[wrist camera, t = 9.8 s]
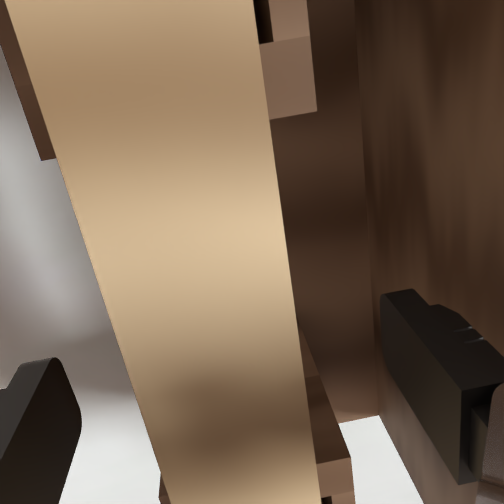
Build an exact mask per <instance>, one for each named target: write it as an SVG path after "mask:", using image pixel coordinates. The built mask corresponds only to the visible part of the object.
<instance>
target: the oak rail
mask: <svg viewBox="0 0 504 504" xmlns="http://www.w3.org/2000/svg"><path fill="white" fill-rule="evenodd" d="M5 3H6V6H7V9H8V12H9V15H10V18H11V21H12V24H13V27H14V30H15V33H16V36H17V39H18V42H19V45H20V48H21V51H22V55H23V58H24V61H25V64H26V67H27V70H28V73H29V76H30V79H31V82H32V85H33V88H34V91H35V94H36V97H37V100H38V103H39V106H40V109H41V112H42V115H43V118H44V121H45V124H46V127H47V130H48V133H49V136H50V139H51V142H52V145H53V148H54V151H55V154H56V157H57V160H58V163H59V166H60V169H61V172H62V175H63V178H64V181H65V185H66V188H67V191H68V194H69V197H70V200H71V203H72V206H73V209H74V212H75V215H76V218H77V221H78V224H79V227H80V230H81V233H82V236H83V239H84V242H85V245H86V248H87V251H88V254H89V257H90V260H91V263H92V266H93V269H94V272H95V275H96V278H97V281H98V284H99V287H100V290H101V293H102V296H103V299H104V302H105V305H106V308H107V312H108V315H109V318H110V321H111V324H112V327H113V330H114V333H115V336H116V339H117V342H118V345H119V348H120V351H121V354H122V357H123V360H124V363H125V366H126V369H127V372H128V375H129V378H130V381H131V384H132V387H133V390H134V393H135V396H136V399H137V402H138V405H139V408H140V411H141V414H142V417H143V420H144V423H145V426H146V429H147V432H148V435H149V438H150V442H151V445H152V448H153V451H154V454H155V457H156V460H157V463H158V466H159V469H160V472H161V475H162V478H163V481H164V484H165V487H166V490H167V493H168V496H169V499H170V502H171V504H321V497H320V489H319V482H318V475H317V467H316V460H315V453H314V445H313V438H312V431H311V423H310V416H309V409H308V401H307V394H306V387H305V379H304V372H303V365H302V357H301V350H300V343H299V335H298V328H297V321H296V314H295V306H294V299H293V292H292V284H291V277H290V270H289V262H288V255H287V248H286V240H285V233H284V226H283V218H282V211H281V204H280V196H279V189H278V182H277V174H276V167H275V160H274V152H273V145H272V138H271V130H270V123H269V116H268V108H267V101H266V94H265V86H264V79H263V72H262V64H261V57H260V50H259V42H258V35H257V28H256V20H255V13H254V6H253V0H5Z"/></svg>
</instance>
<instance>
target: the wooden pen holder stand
mask: <svg viewBox="0 0 504 504" xmlns="http://www.w3.org/2000/svg"><path fill="white" fill-rule="evenodd" d="M253 6H254V13H255V20H256V28H257V35H258V42H259V50H260V57H261V64H262V72H263V79H264V86H265V94H266V101H267V108H268V116H269V123H270V130H271V138H272V145H273V152H274V160H275V167H276V174H277V182H278V189H279V196H280V204H281V211H282V218H283V226H284V233H285V240H286V248H287V255H288V262H289V270H290V277H291V284H292V292H293V299H294V306H295V314H296V321H297V328H298V335H299V343H300V350H301V357H302V365H303V372H304V379H305V387H306V394H307V401H308V409H309V416H310V423H311V431H312V438H313V445H314V453H315V460H316V467H317V475H318V482H319V489H320V497H321V504H355V495H354V484H353V474H352V464H351V456H350V454H349V451H348V448H347V446H346V443H345V441H344V438H343V435H342V433H341V430H340V428H339V425H338V423H343V422H348V421H353V420H357V419H362V418H367V417H372V416H377V415H379V416H380V418H381V420H382V422H383V424H384V426H385V428H386V430H387V432H388V434H389V436H390V438H391V440H392V442H393V444H394V446H395V448H396V450H397V452H398V453H399V455H400V457H401V459H402V461H403V463H404V465H405V467H406V469H407V471H408V473H409V475H410V477H411V479H412V481H413V483H414V485H415V487H416V489H417V491H418V493H419V495H420V497H421V499H422V501H423V503H424V504H476V497H477V490H478V484H479V483H478V481H476V482H472V483H467V484H462V485H458V484H457V483H456V481H455V479H454V478H453V476H452V474H451V473H450V471H449V469H448V468H447V466H446V465H445V463H444V461H443V460H442V458H441V456H440V455H439V453H438V451H437V450H436V448H435V447H434V445H433V443H432V442H431V440H430V438H429V437H428V435H427V433H426V432H425V430H424V429H423V427H422V425H421V424H420V422H419V420H418V419H417V417H416V415H415V414H414V412H413V411H412V409H411V407H410V406H409V404H408V402H407V401H406V399H405V397H404V396H403V394H402V393H401V391H400V389H399V388H398V386H397V384H396V383H395V381H394V379H393V378H392V376H391V374H390V373H389V371H388V369H387V366H386V364H385V360H384V357H383V352H382V342H381V323H380V303H379V301H380V296H381V294H384V293H390V292H395V291H400V290H405V289H410V288H412V289H414V290H415V291H416V292H417V293H418V294H419V295H420V296H421V297H422V298H423V299H424V300H425V301H426V302H427V303H428V304H429V305H430V306H431V305H436V304H440V305H442V306H445V307H447V308H449V309H451V310H453V311H455V312H457V313H459V314H460V315H461V316H462V317H463V318H464V319H465V320H466V321H467V322H468V323H469V324H470V325H471V326H472V328H473V329H475V330H477V331H478V332H479V333H480V334H481V335H482V336H483V338H484V340H487V341H488V342H489V343H490V344H491V345H492V346H493V347H494V348H495V349H496V350H497V351H498V352H499V353H500V354H501V355H502V356H503V357H504V0H253ZM0 44H1V47H2V50H3V53H4V56H5V58H6V61H7V64H8V67H9V70H10V73H11V76H12V78H13V81H14V84H15V87H16V90H17V93H18V96H19V99H20V101H21V104H22V107H23V110H24V113H25V116H26V119H27V121H28V124H29V127H30V130H31V133H32V136H33V139H34V142H35V144H36V147H37V150H38V153H39V156H40V159H41V161H43V160H49V159H54V158H57V157H56V154H55V151H54V148H53V145H52V142H51V139H50V136H49V133H48V130H47V127H46V124H45V121H44V118H43V115H42V112H41V109H40V106H39V103H38V100H37V97H36V94H35V91H34V88H33V85H32V82H31V79H30V76H29V73H28V70H27V67H26V64H25V61H24V58H23V55H22V51H21V48H20V45H19V42H18V39H17V36H16V33H15V30H14V27H13V24H12V21H11V18H10V15H9V12H8V9H7V6H6V3H5V0H0ZM159 500H160V503H161V504H171V502H170V499H169V496H168V493H167V490H166V487H165V484H164V481H163V478H162V475H161V477H160V488H159Z"/></svg>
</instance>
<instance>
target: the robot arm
mask: <svg viewBox="0 0 504 504" xmlns="http://www.w3.org/2000/svg"><path fill="white" fill-rule="evenodd" d="M379 303H380V323H381V342H382V352H383V357H384V360H385V364H386V366H387V369H388V371H389V373H390V374H391V376H392V378H393V379H394V381H395V383H396V384H397V386H398V388H399V389H400V391H401V393H402V394H403V396H404V397H405V399H406V401H407V402H408V404H409V406H410V407H411V409H412V411H413V412H414V414H415V415H416V417H417V419H418V420H419V422H420V424H421V425H422V427H423V429H424V430H425V432H426V433H427V435H428V437H429V438H430V440H431V442H432V443H433V445H434V447H435V448H436V450H437V451H438V453H439V455H440V456H441V458H442V460H443V461H444V463H445V465H446V466H447V468H448V469H449V471H450V473H451V474H452V476H453V478H454V479H455V481H456V483H457V484H458V485H462V484H467V483H472V482H476V481H478V483H479V484H478V490H477V497H476V504H504V357H503V356H502V355H501V354H500V353H499V352H498V351H497V350H496V349H495V348H494V347H493V346H492V345H491V344H490V343H489V342H488V341H487V340H484V338H483V336H482V335H481V334H480V333H479V332H478V331H477V330H475V329H473V328H472V326H471V325H470V324H469V323H468V322H467V321H466V320H465V319H464V318H463V317H462V316H461V315H460V314H459V313H457V312H455V311H453V310H451V309H449V308H447V307H445V306H442V305H440V304H436V305H431V306H430V305H429V304H428V303H427V302H426V301H425V300H424V299H423V298H422V297H421V296H420V295H419V294H418V293H417V292H416V291H415V290H414V289H412V288H410V289H405V290H400V291H395V292H390V293H384V294H381V296H380V301H379ZM81 427H82V418H81V411H80V408H79V405H78V402H77V400H76V397H75V395H74V392H73V390H72V388H71V385H70V383H69V380H68V378H67V375H66V373H65V370H64V368H63V365H62V363H61V362H60V360H59V359H58V358H55V357H54V358H49V359H44V360H38V361H33V362H28V363H23V364H22V365H20V367H19V368H18V370H17V371H16V373H15V375H14V377H13V378H12V380H11V382H10V383H9V385H8V387H7V388H6V389H1V390H0V504H59V500H60V497H61V494H62V491H63V488H64V485H65V482H66V478H67V475H68V472H69V469H70V466H71V463H72V459H73V456H74V453H75V450H76V447H77V444H78V440H79V437H80V434H81Z"/></svg>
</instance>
